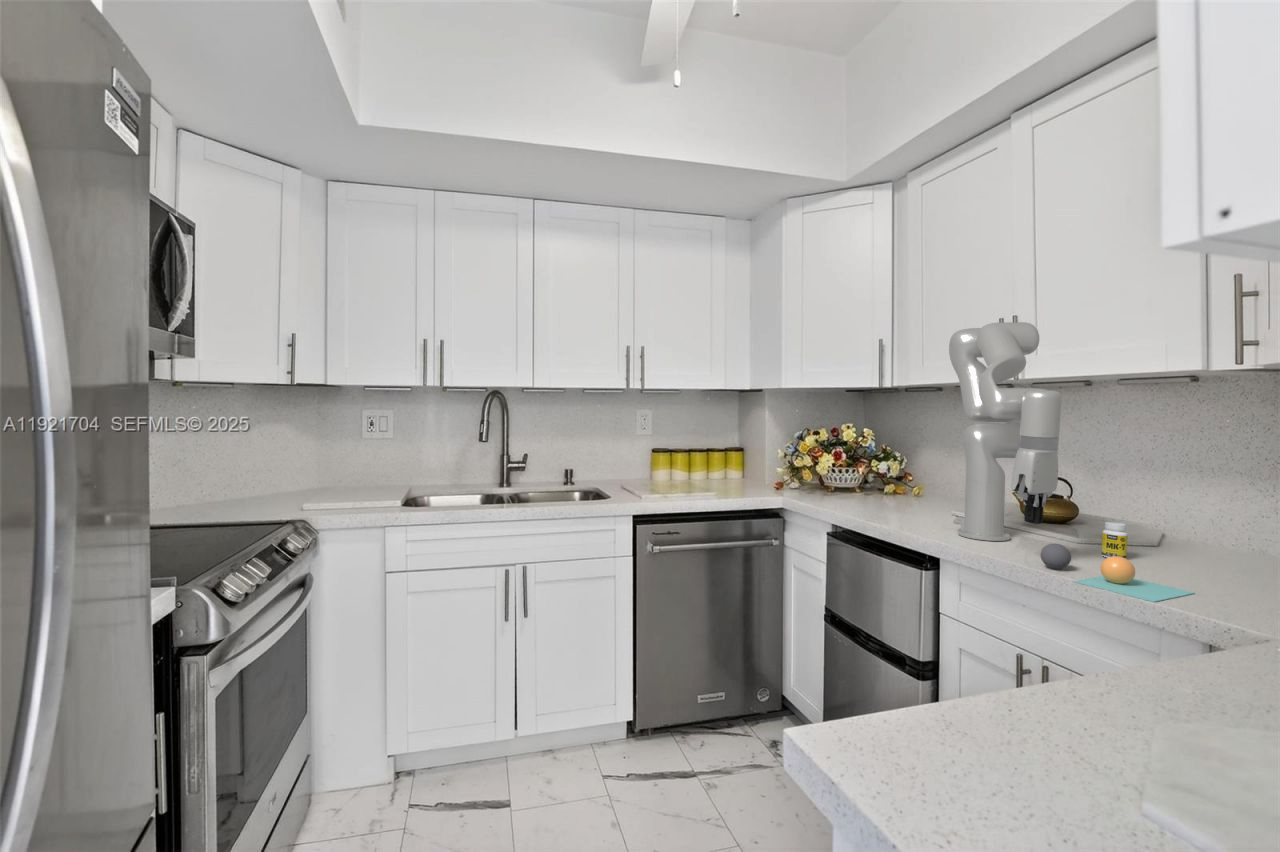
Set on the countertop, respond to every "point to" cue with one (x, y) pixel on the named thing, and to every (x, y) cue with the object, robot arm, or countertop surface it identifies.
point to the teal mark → (1137, 589)
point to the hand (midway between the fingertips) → (1033, 522)
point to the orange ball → (1117, 570)
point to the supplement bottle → (1114, 540)
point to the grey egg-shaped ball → (1055, 556)
